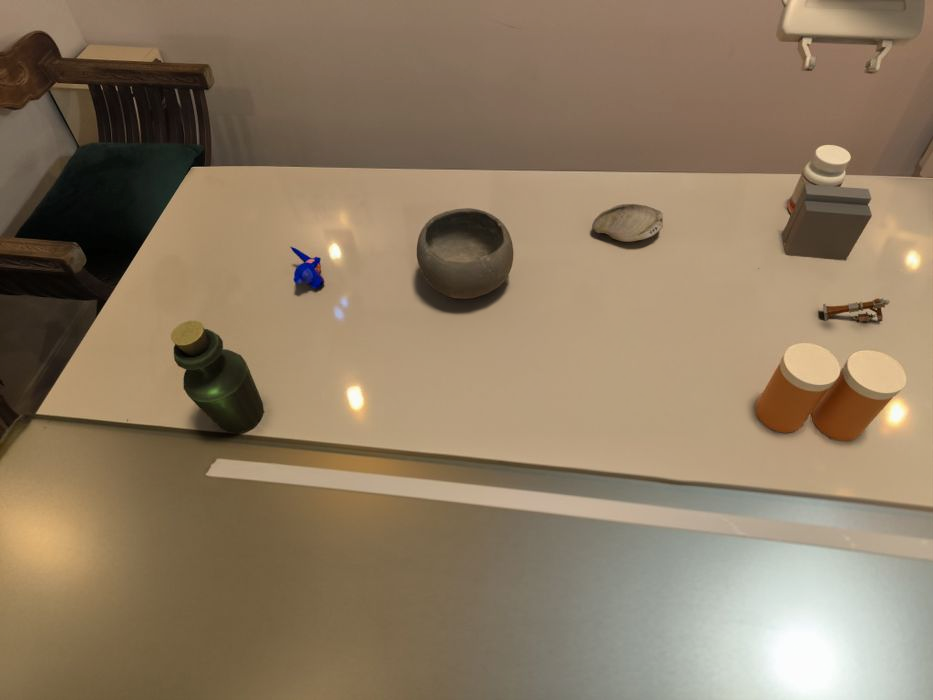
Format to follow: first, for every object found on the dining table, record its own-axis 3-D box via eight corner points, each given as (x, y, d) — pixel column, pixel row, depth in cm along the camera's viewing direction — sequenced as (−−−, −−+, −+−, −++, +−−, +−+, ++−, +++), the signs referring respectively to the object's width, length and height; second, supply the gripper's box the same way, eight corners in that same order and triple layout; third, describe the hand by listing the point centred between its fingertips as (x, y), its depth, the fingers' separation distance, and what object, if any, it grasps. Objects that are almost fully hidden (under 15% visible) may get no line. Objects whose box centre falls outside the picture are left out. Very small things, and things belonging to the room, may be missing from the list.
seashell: (597, 253, 101) (600, 230, 97) (586, 221, 106) (589, 198, 102) (668, 246, 101) (674, 223, 97) (654, 214, 106) (660, 191, 102)
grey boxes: (782, 233, 101) (804, 184, 93) (840, 238, 99) (868, 188, 92) (785, 254, 98) (809, 205, 90) (845, 260, 96) (875, 210, 89)
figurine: (299, 297, 99) (290, 276, 95) (297, 266, 103) (289, 244, 100) (328, 291, 99) (320, 270, 95) (325, 261, 104) (317, 239, 100)
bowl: (494, 239, 104) (492, 192, 96) (526, 299, 95) (528, 252, 87) (411, 262, 102) (403, 215, 94) (436, 325, 93) (429, 279, 85)
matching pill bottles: (752, 390, 83) (781, 339, 74) (858, 404, 80) (900, 353, 72) (756, 429, 79) (786, 380, 70) (867, 444, 77) (912, 396, 68)
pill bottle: (822, 201, 105) (850, 143, 97) (828, 224, 102) (858, 166, 93) (784, 198, 106) (809, 141, 98) (789, 221, 103) (815, 164, 94)
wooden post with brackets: (890, 323, 87) (890, 302, 84) (826, 331, 91) (824, 311, 88) (888, 314, 88) (888, 293, 85) (824, 322, 92) (822, 302, 89)
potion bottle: (252, 446, 82) (197, 366, 68) (200, 432, 84) (137, 352, 70) (280, 397, 87) (235, 313, 72) (231, 385, 88) (177, 301, 74)
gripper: (791, -33, 94) (776, 61, 96) (938, -30, 90) (919, 67, 92) (778, -14, 100) (764, 74, 102) (915, -11, 97) (898, 80, 98)
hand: (839, 71), depth 97 cm, fingers open, 8 cm apart
